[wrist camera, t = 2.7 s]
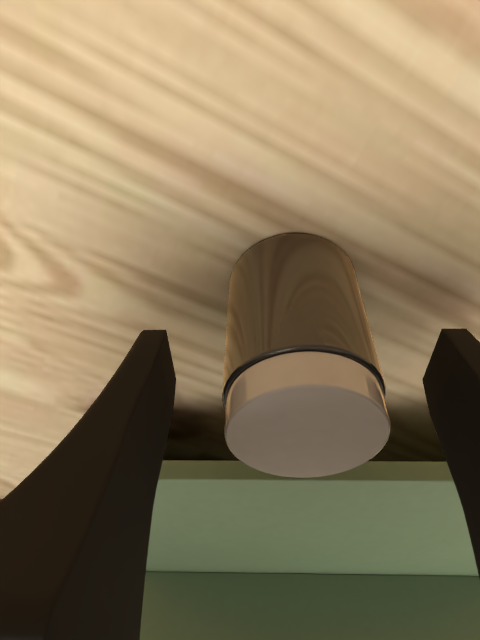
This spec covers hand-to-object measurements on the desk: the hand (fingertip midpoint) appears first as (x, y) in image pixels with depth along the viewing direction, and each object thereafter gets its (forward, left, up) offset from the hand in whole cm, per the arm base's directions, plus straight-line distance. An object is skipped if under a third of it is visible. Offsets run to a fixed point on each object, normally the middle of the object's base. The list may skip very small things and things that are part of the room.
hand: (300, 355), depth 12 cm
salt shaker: (0, 0, -3) cm, 3 cm away
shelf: (+2, -11, -3) cm, 12 cm away
